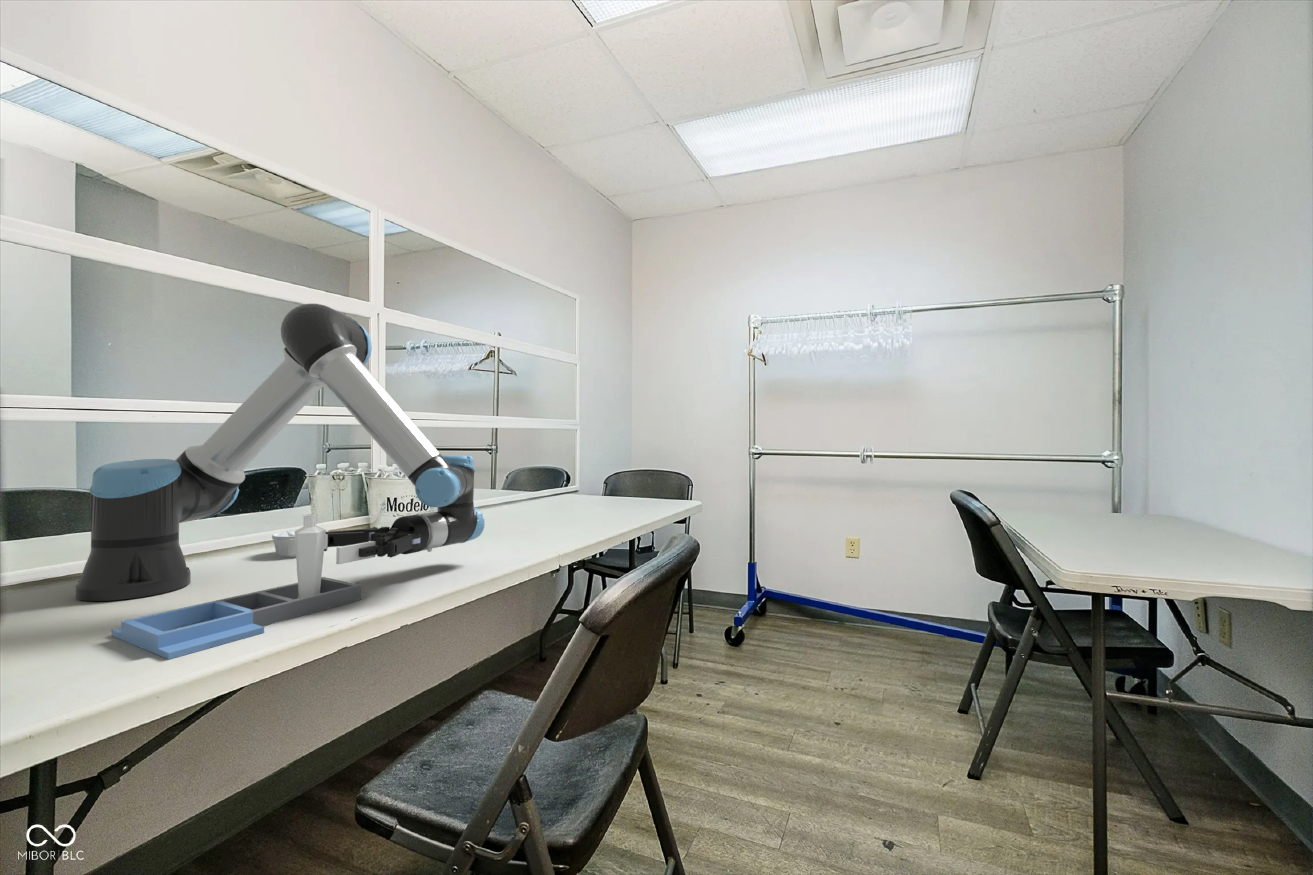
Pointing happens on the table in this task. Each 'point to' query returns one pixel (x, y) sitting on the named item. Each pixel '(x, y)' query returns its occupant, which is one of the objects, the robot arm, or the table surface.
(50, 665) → the table surface
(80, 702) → the table surface
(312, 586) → the perfume bottle
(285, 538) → the ramekin
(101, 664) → the table surface
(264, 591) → the compartment sorting tray
